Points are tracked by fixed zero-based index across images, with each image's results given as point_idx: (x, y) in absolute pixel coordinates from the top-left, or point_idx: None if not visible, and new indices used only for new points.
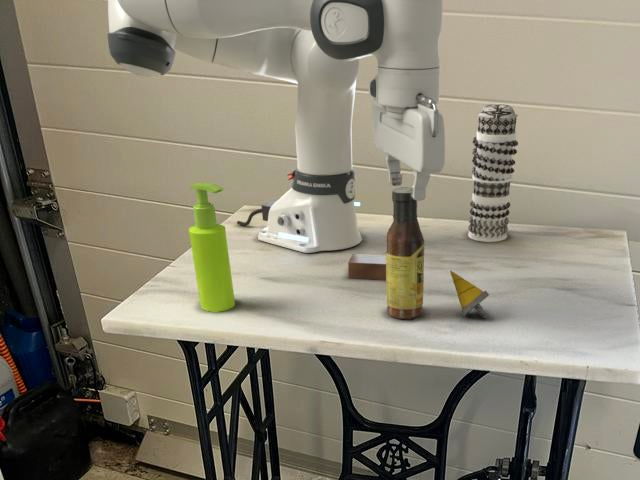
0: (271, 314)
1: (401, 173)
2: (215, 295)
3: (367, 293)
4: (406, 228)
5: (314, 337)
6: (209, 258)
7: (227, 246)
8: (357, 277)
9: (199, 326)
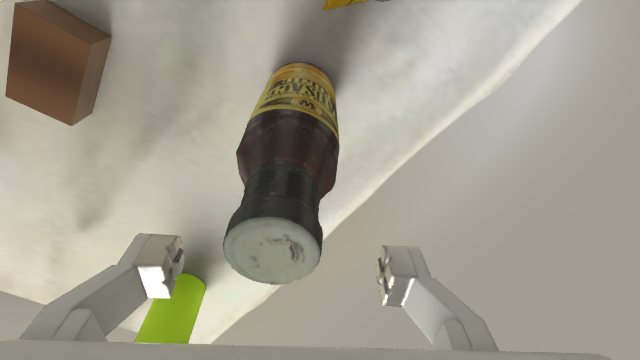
0: None
1: (161, 268)
2: (199, 307)
3: (182, 111)
4: (324, 194)
5: (324, 229)
6: None
7: None
8: (94, 99)
9: (242, 306)
